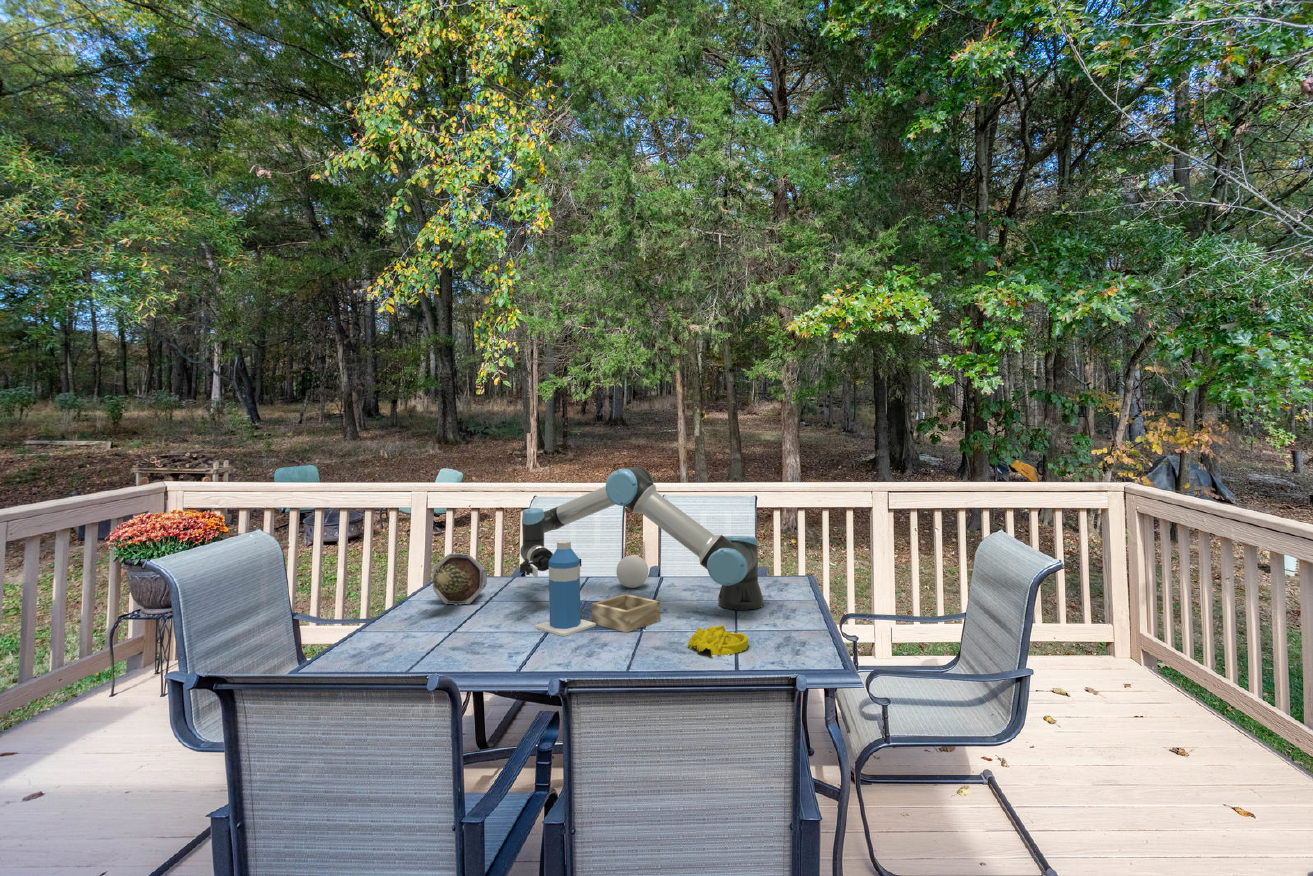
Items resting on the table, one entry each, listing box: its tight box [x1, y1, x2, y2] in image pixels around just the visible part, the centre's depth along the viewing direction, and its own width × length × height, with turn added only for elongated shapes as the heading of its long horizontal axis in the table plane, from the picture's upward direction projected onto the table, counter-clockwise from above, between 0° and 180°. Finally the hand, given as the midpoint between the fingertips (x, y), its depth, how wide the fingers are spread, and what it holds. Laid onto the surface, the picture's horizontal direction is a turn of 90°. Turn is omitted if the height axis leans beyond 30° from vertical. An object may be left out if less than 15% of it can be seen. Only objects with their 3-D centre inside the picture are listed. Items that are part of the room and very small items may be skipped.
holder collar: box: [590, 593, 661, 633], centre depth 203 cm, size 15×15×6 cm
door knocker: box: [687, 624, 749, 658], centre depth 180 cm, size 16×16×4 cm
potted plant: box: [432, 553, 488, 605], centre depth 224 cm, size 18×18×30 cm
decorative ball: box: [616, 554, 649, 589], centre depth 246 cm, size 12×12×12 cm
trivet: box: [534, 619, 597, 637], centre depth 198 cm, size 13×13×1 cm
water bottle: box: [548, 540, 582, 629], centre depth 198 cm, size 9×9×25 cm
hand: (558, 570), depth 204 cm, fingers open, 13 cm apart
